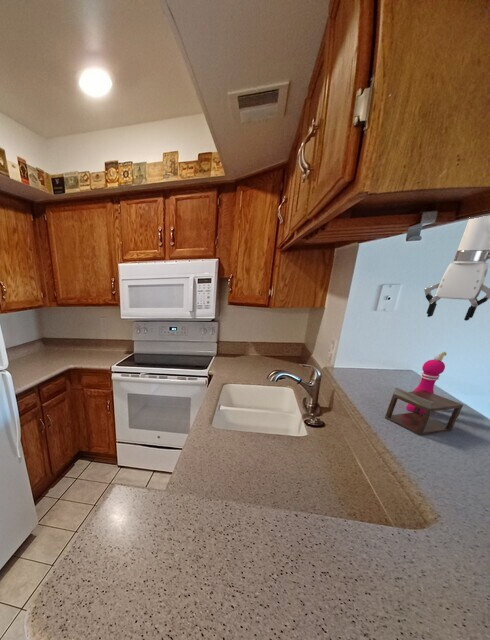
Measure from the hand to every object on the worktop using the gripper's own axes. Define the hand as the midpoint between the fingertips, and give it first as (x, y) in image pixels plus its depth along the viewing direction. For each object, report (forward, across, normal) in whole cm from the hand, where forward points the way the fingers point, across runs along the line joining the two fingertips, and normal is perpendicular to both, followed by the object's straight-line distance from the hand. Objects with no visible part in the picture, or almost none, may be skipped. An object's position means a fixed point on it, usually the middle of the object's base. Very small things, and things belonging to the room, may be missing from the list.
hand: (447, 318), depth 105 cm
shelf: (+32, -5, +14) cm, 35 cm away
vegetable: (+32, 0, -6) cm, 32 cm away
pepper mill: (+32, -2, +1) cm, 32 cm away
